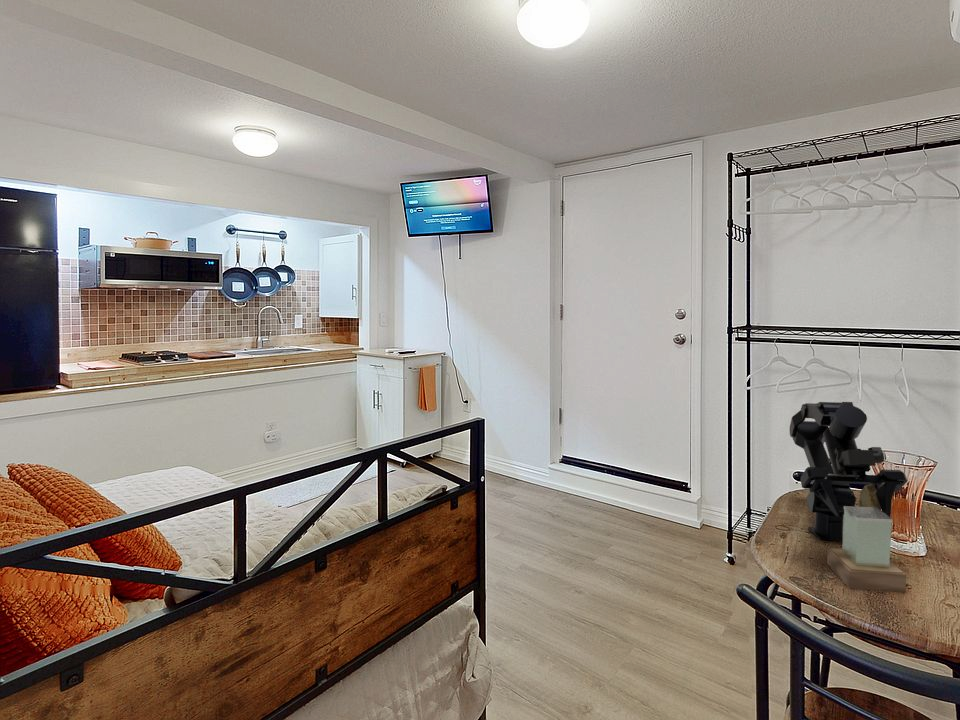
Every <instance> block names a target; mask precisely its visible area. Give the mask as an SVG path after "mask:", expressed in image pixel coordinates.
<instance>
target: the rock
mask: <svg viewBox="0 0 960 720" xmlns="http://www.w3.org/2000/svg"><path fill="white" fill-rule="evenodd" d="M877 491H878V490H877V489H875V486H874V484H866V485H864V486H863V488H862V489H861V490H860V493H859V500H858V504H859V507H877V508H878V509H879V510H881V507H880V504H879V501H878V499H877V496H876V492H877Z"/></svg>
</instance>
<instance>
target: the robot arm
mask: <svg viewBox="0 0 960 720" xmlns="http://www.w3.org/2000/svg"><path fill="white" fill-rule="evenodd" d="M806 419H812V421H810V420H806ZM813 420H814V421H813ZM867 421H868V416H867V414H866V413H865V412H864V411H863V410H862V409H861V408H859V407H857V406H855V405H854V403H853V401H841V402H840V401H839V402H836V401H834V402H833V401H831V402H830V401H819V402H817V403H812V402H811V403H810V402H809V403H807V402H806V403H803V404H801V408H800V410H798V412H796V413H795V414H794V415H793V416H792V417H791V419H790V424H789V437H791V438H792V440H793V442H794V444H795V445H796V446H797V447H800V448H801V449H803V451H804V454H805V456H806V459H807V462H808V465H809V466H808V467H806V469H805V470H804V471H803V473H802V475H801V476H800V484H801V487H802V489H807V490H808V491H809V492H808V495H807V496H806V506H807V507H808V509H809V511H810V512H811V513H814V526H808V527H807V529H808V531H810V532H811V533H812V534H813V535H815V537H817V538H818V539H819V540H820V541H842V542H843V525H844V506H854V507H856V506H855V505H856V501H857V497H856V495H855V493H854V491H853V490H852V489H851V485H850V484H854V485H855V484H856V485H857V484H859V485H861V484H862V485H870V484H874V486H875V489H877V490H878V491H877V492H876V496H877V499H878V501H879V504H880V507H881V509H882V512H883V513H885V514H886V515H887V516H889V517H890V514H891V513H892V501H893V497H894V493H898V492H899V490H901V488H903V487H904V486H905V485H906V484H907V482H908V478H907V476H906V474H905V473H904V472H903V471H902V470H900V469H884V468H883V469H881V470H880V471H879V472H878V473H877V474H866V472H867V473H868V472H870V471H871V466H873V467H875V466H876V465H877V464H880V463H884V461H885V455H884V451H883V449H882V448H881V447H880V446H871V447H868V448H867V449H861V448H858V445H857V442H856V440H855V439H857V438H858V437H859V436H860V434H861V432H862V430H863V428H864V426H865V425H866V423H867ZM824 444H825V446H826V448H825V446H824Z"/></svg>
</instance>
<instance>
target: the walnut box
mask: <svg viewBox="0 0 960 720" xmlns="http://www.w3.org/2000/svg"><path fill="white" fill-rule="evenodd" d="M826 556H827V557H826V559H827V560H826V564H828V565H829V566H830V567H831V568H830V567H829V566H828V565H827V566H828V567H829V568H830V569H831V570H832V571H833V572H834V573H835V575H836V574H837V575H838V576H839V577H840V578H841V579H842V580H843V581H842V580H841V579H840V578H839V577H838V576H837V575H836V576H837V577H838V578H839V579H840V580H841V581H842V582H843V583H844V584H846V585H847V586H848V587H849V588H848V587H847V586H846V585H845V586H846V587H847V588H848V589H851V588H856V590H866V591H867V590H869V591H886V592H887V591H888V592H898V593H900V592H901V593H906V587H907V574H906V573H905V572H904V571H903V570H901V569H900V568H899V567H898V566H897V565H896V564H895V563H894V562H892V561H891V560H890V563H889V568H883V567H867V566H855V565H854V564H853V563H852V561H851V560H850V559H849V558H848V557H847V556H846V555H845V554H844V553H843V552H842V548H833V547H832V548H831V547H830V548H829V547H828V548H827V555H826Z"/></svg>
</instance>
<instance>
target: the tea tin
mask: <svg viewBox="0 0 960 720" xmlns="http://www.w3.org/2000/svg"><path fill="white" fill-rule="evenodd" d="M892 522H893V519H892V518H890V517H889V516H887V515H886V514H885V513H883V512H882V511H881V510H879V509H878V508H877V507H860V506H844V515H843V541H842V545H841V546H842V548H841V549H842V552H843V553H844V554H845V555H846V556H847V557H848V558H849V559H850V560H851V561H852V563H853V564H854V565H855V566H867V567H883V568H889V563H890V561H891V560H890V559H891V541H892V527H893V525H892Z"/></svg>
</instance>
